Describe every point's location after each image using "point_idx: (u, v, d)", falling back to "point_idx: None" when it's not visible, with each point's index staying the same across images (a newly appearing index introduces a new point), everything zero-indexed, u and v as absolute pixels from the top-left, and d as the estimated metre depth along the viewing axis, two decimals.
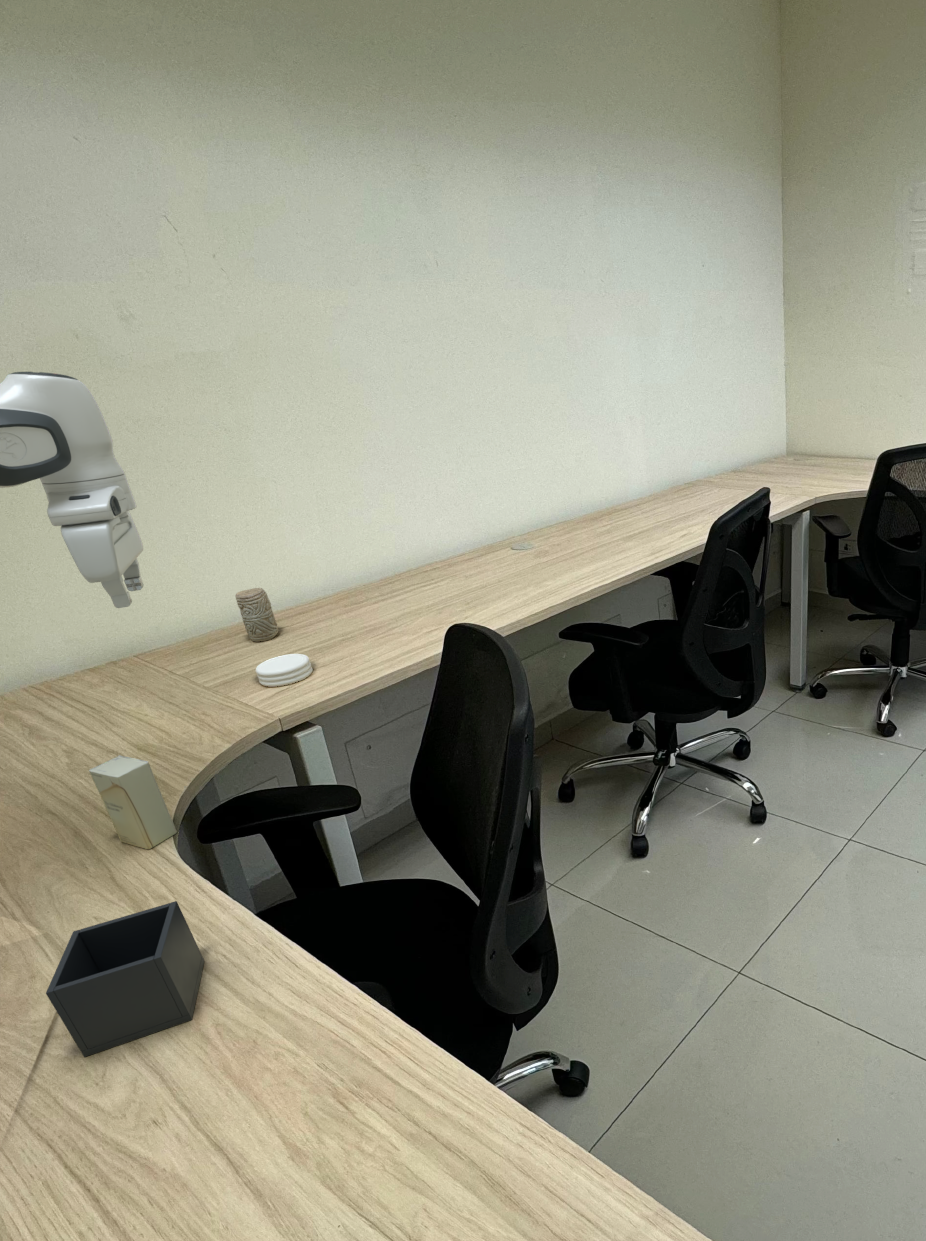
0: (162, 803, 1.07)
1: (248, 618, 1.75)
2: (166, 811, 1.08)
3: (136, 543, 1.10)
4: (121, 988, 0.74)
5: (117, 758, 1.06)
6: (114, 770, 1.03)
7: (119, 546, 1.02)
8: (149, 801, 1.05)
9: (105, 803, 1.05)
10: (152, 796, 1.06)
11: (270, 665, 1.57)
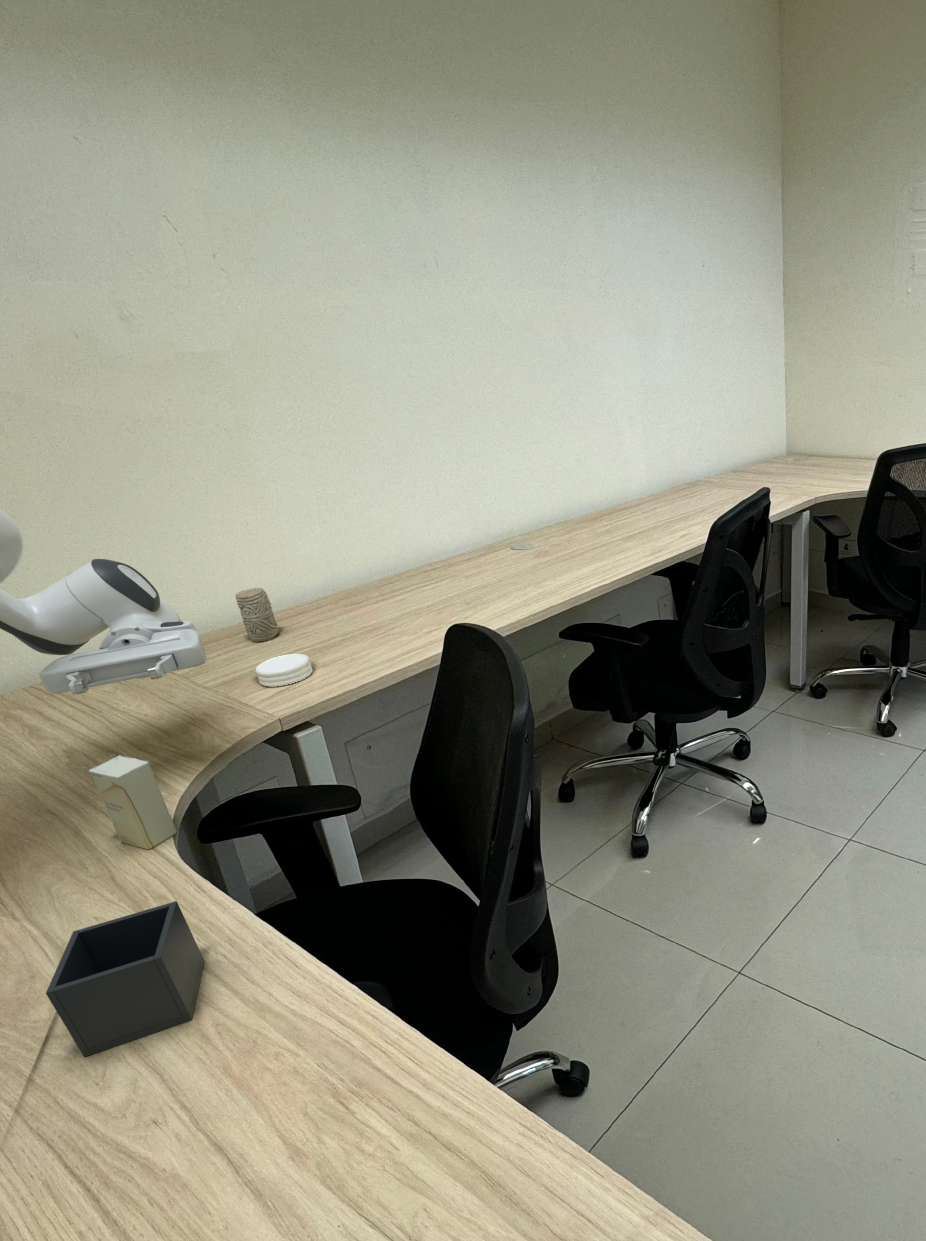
0: (162, 803, 1.07)
1: (248, 618, 1.75)
2: (166, 811, 1.08)
3: None
4: (121, 988, 0.74)
5: (117, 758, 1.06)
6: (114, 770, 1.03)
7: None
8: (149, 801, 1.05)
9: (105, 803, 1.05)
10: (152, 796, 1.06)
11: (270, 665, 1.57)
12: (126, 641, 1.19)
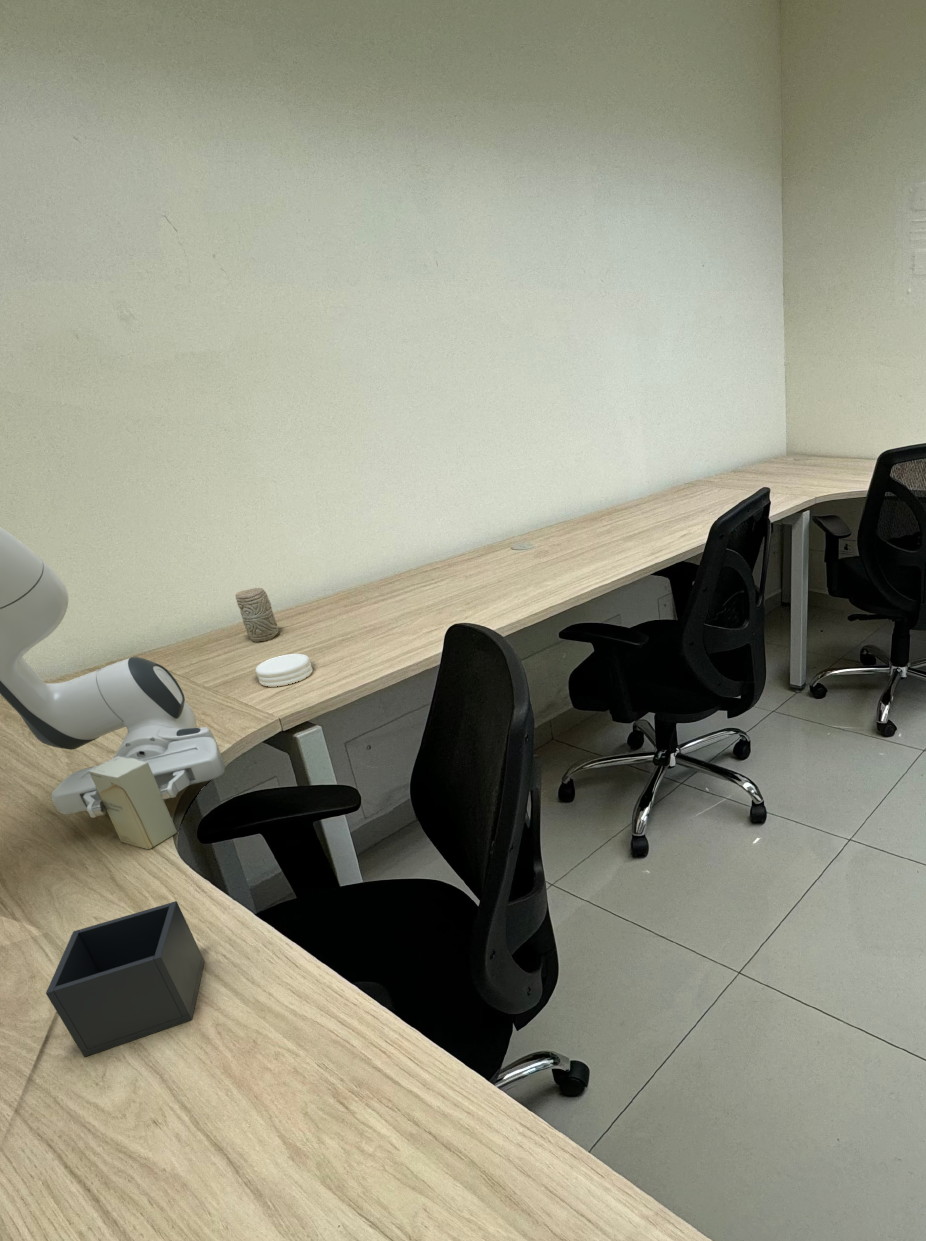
0: (162, 803, 1.07)
1: (248, 618, 1.75)
2: (166, 811, 1.08)
3: None
4: (121, 988, 0.74)
5: (116, 758, 1.06)
6: (114, 770, 1.03)
7: None
8: (149, 801, 1.05)
9: (105, 803, 1.05)
10: (152, 796, 1.05)
11: (270, 665, 1.57)
12: (141, 752, 1.14)
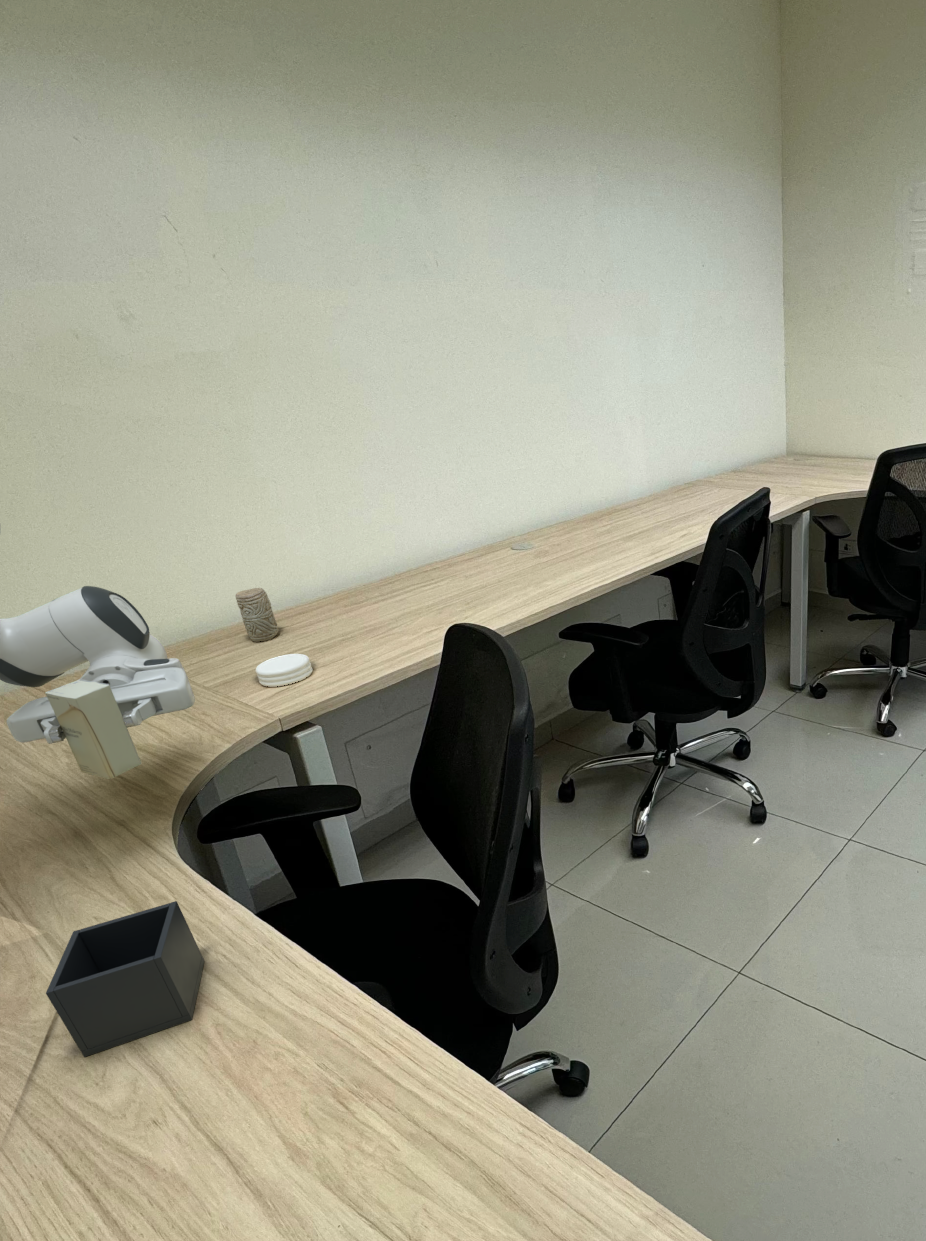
0: (125, 730, 1.00)
1: (248, 618, 1.75)
2: (129, 739, 1.01)
3: None
4: (121, 988, 0.74)
5: (76, 682, 0.99)
6: (72, 692, 0.96)
7: None
8: (111, 727, 0.99)
9: (63, 729, 0.98)
10: (114, 722, 0.99)
11: (270, 665, 1.57)
12: (105, 681, 1.08)
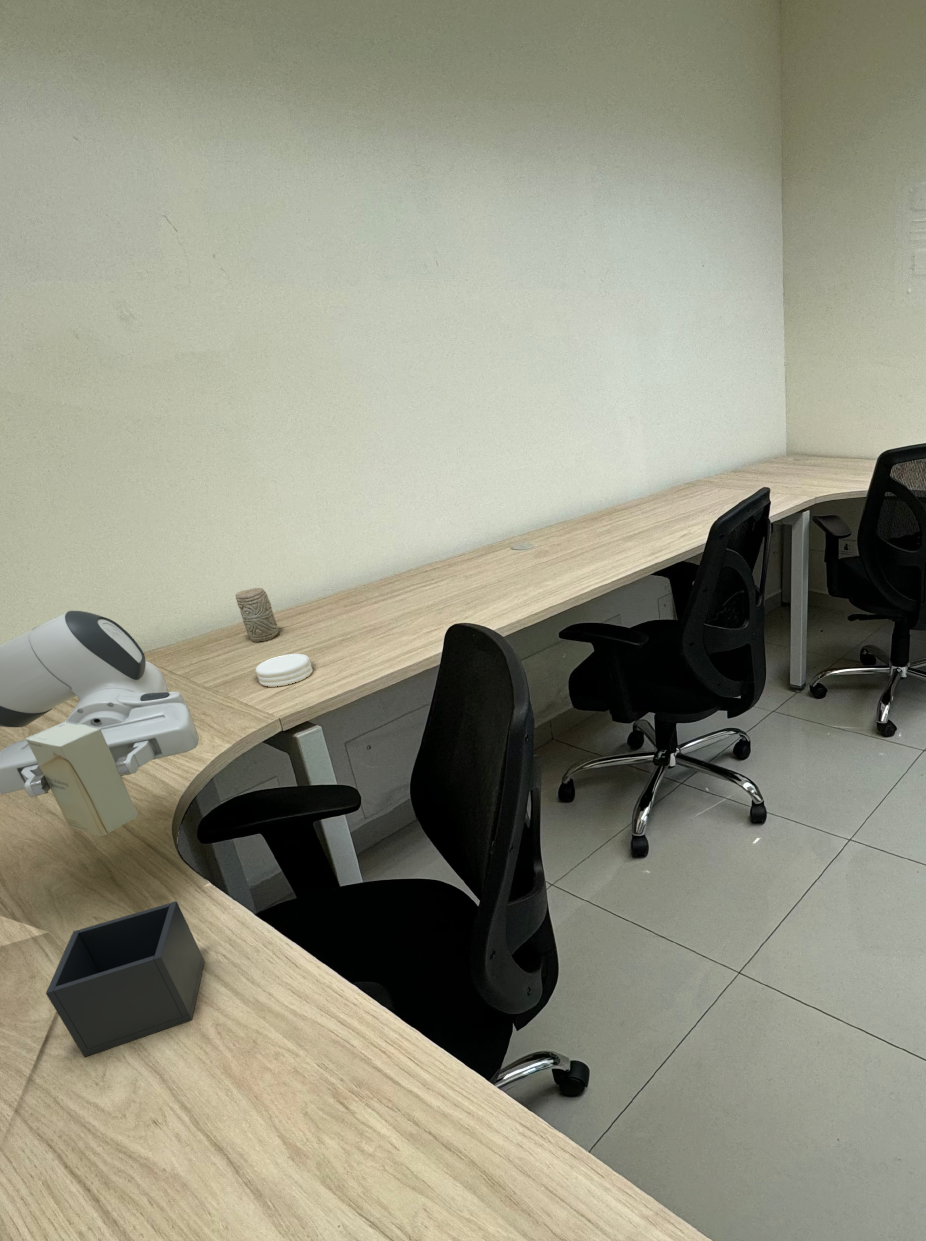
0: (119, 780, 0.87)
1: (248, 618, 1.75)
2: (124, 790, 0.88)
3: None
4: (121, 988, 0.74)
5: (62, 724, 0.86)
6: (57, 738, 0.83)
7: None
8: (102, 777, 0.86)
9: (47, 779, 0.85)
10: (106, 770, 0.86)
11: (270, 665, 1.57)
12: (96, 720, 0.94)
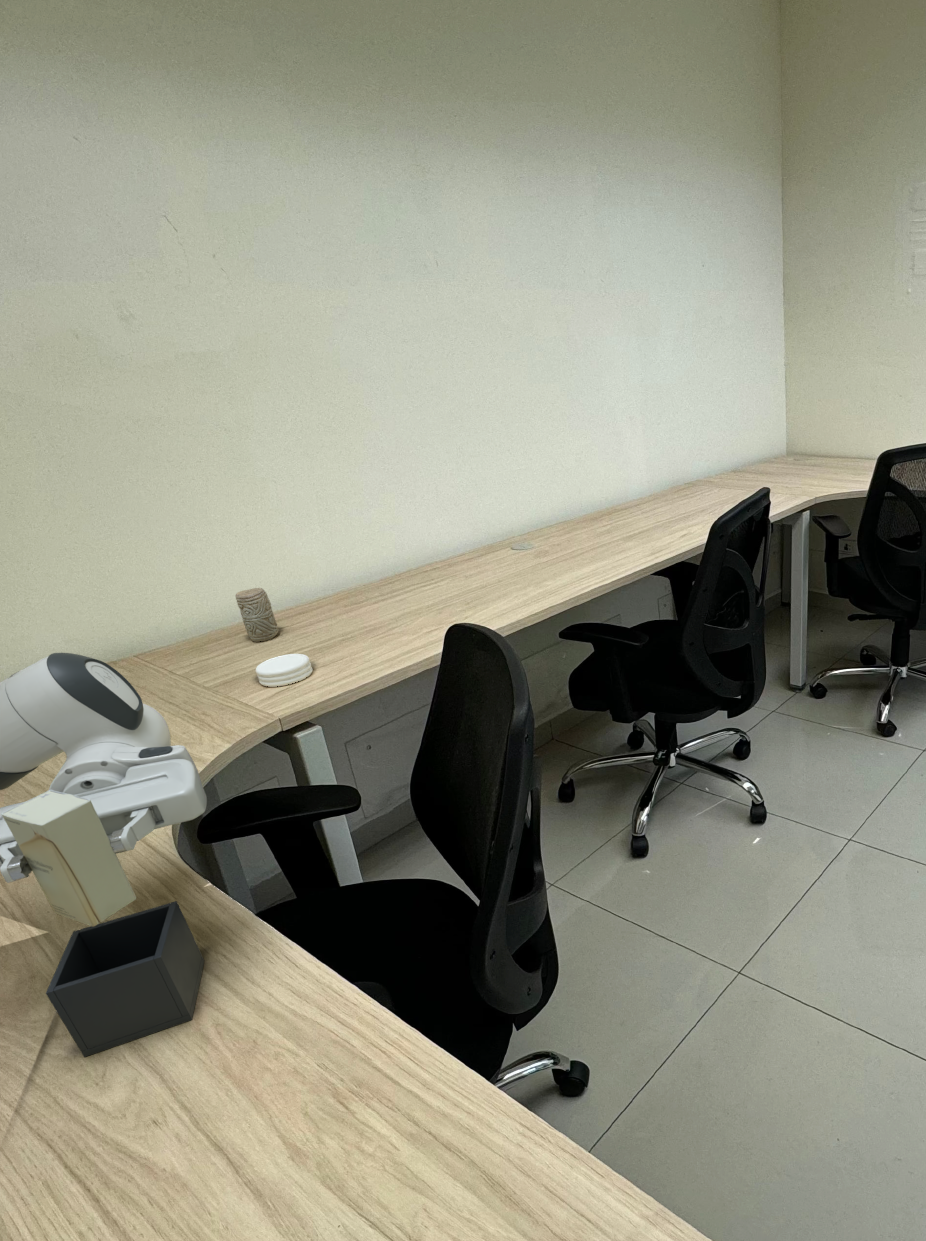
0: (113, 858, 0.74)
1: (248, 618, 1.75)
2: (119, 869, 0.74)
3: None
4: (121, 988, 0.74)
5: (46, 794, 0.72)
6: (39, 814, 0.69)
7: None
8: (93, 857, 0.72)
9: (28, 860, 0.72)
10: (98, 849, 0.72)
11: (270, 665, 1.57)
12: (88, 782, 0.81)
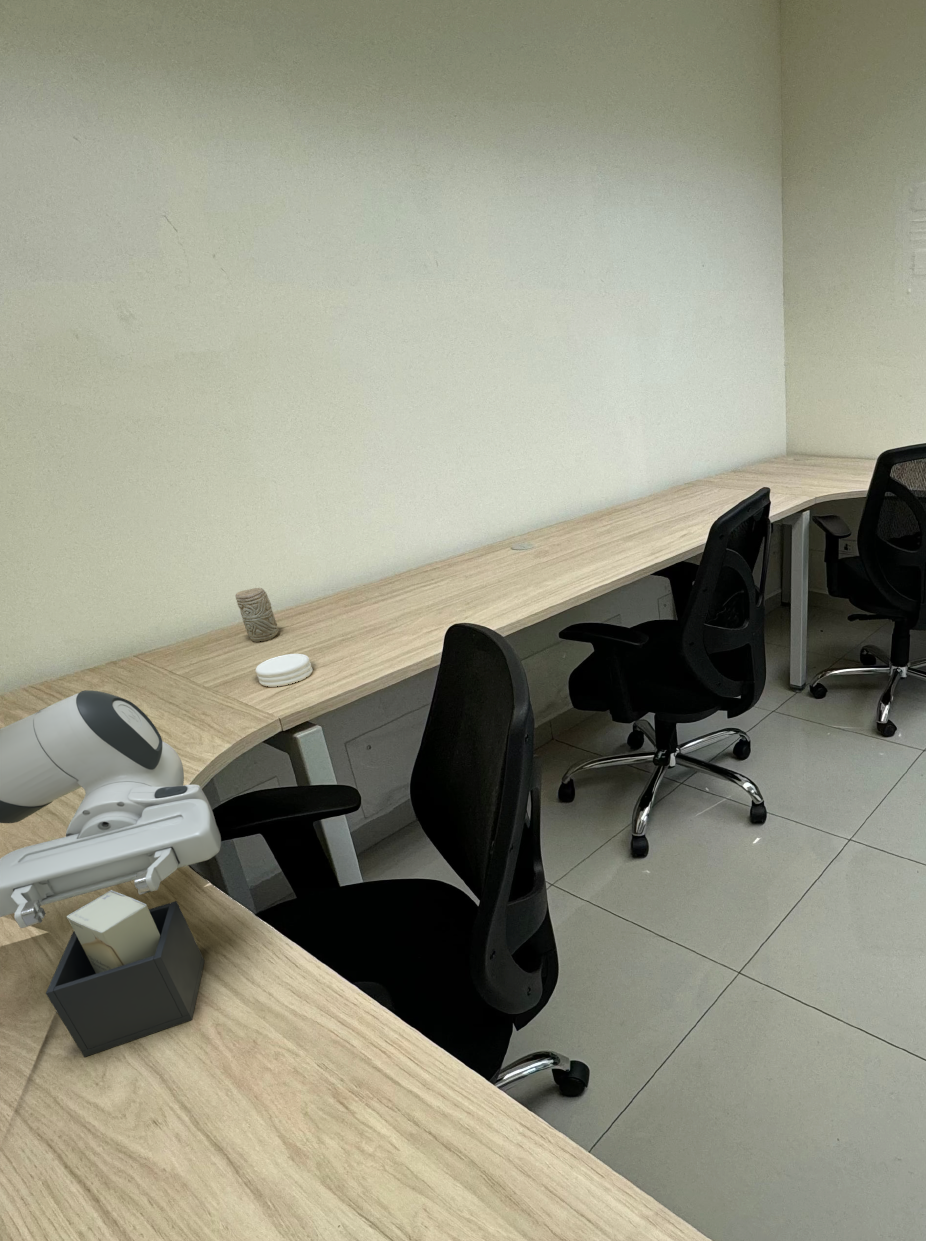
0: None
1: (248, 618, 1.75)
2: None
3: None
4: (121, 988, 0.74)
5: (107, 895, 0.77)
6: (100, 919, 0.74)
7: None
8: None
9: (89, 958, 0.77)
10: (151, 950, 0.77)
11: (270, 665, 1.57)
12: (104, 822, 0.82)
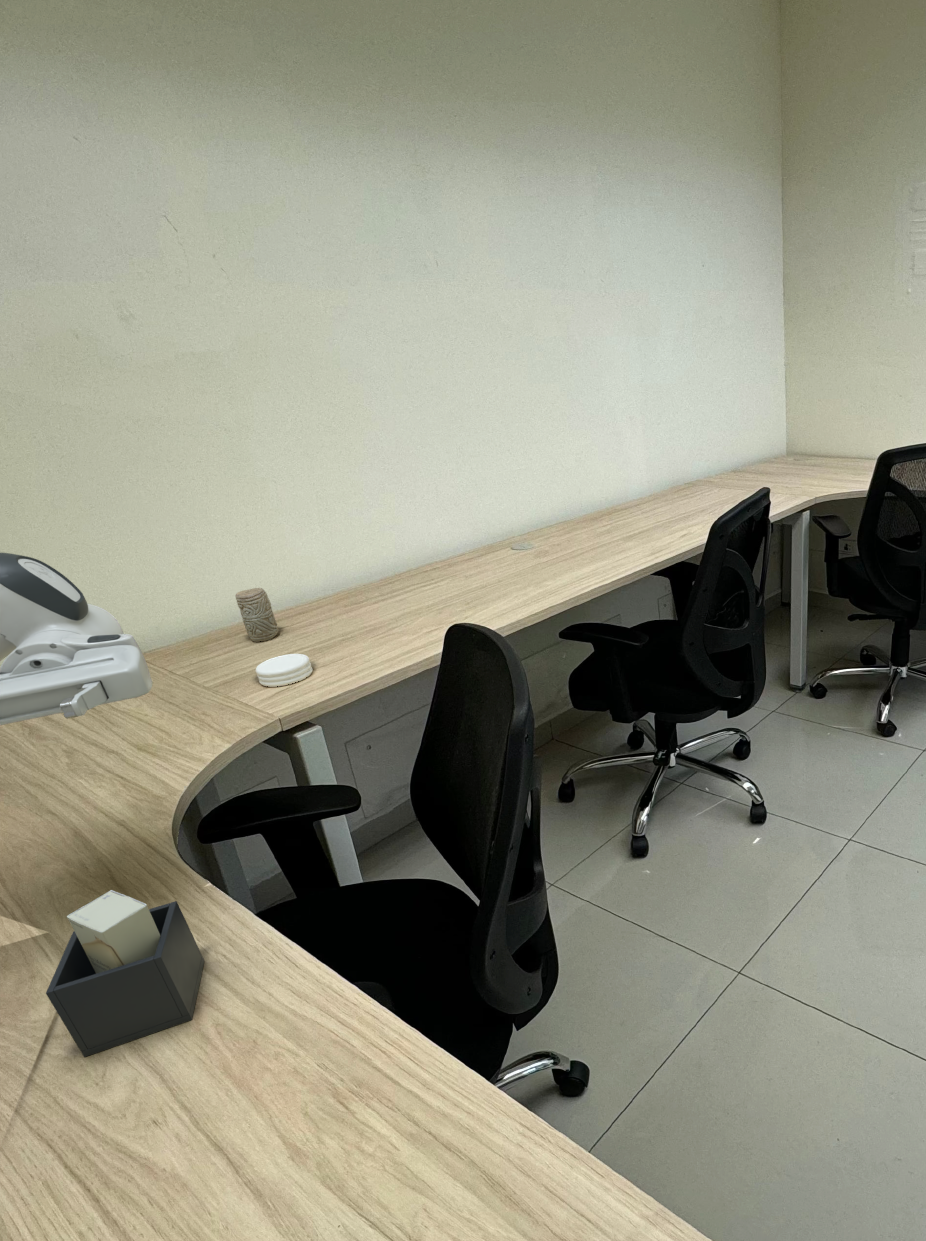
0: None
1: (248, 618, 1.75)
2: None
3: None
4: (121, 988, 0.74)
5: (107, 895, 0.77)
6: (100, 918, 0.74)
7: None
8: None
9: (89, 957, 0.77)
10: (151, 949, 0.77)
11: (270, 665, 1.57)
12: (37, 663, 0.85)
